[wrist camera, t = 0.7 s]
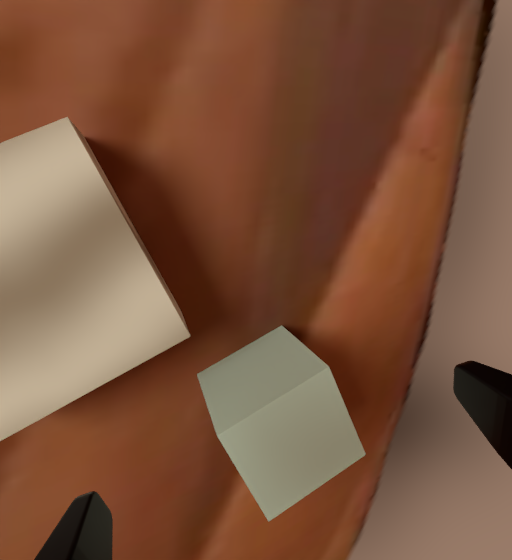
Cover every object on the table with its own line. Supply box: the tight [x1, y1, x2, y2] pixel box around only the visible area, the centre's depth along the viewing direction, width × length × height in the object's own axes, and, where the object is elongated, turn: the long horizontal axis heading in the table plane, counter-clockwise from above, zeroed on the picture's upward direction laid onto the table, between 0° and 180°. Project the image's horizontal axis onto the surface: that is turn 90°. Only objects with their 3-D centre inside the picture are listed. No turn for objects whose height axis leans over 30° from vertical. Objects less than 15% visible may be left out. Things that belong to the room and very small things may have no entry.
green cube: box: [197, 326, 366, 521], centre depth 20 cm, size 6×6×6 cm
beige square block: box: [0, 117, 190, 441], centre depth 15 cm, size 10×10×4 cm
